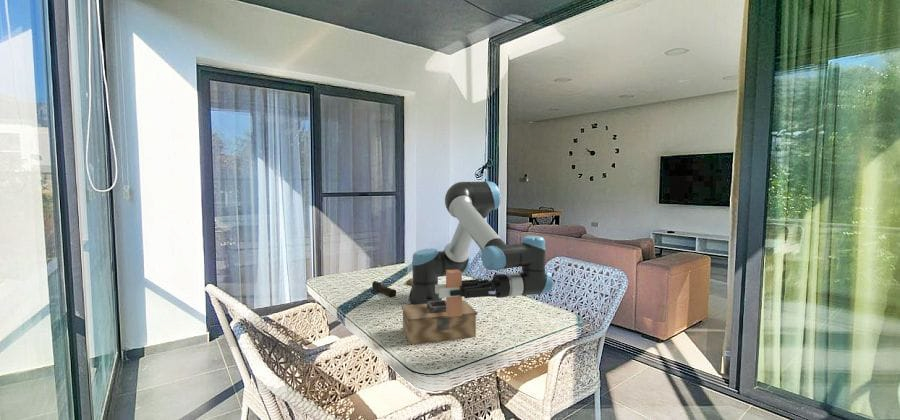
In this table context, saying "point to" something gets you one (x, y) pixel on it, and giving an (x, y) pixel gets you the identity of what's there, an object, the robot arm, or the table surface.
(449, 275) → the wooden peg
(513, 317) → the table surface
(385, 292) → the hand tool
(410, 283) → the cookie
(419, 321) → the wooden socket base
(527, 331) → the table surface
